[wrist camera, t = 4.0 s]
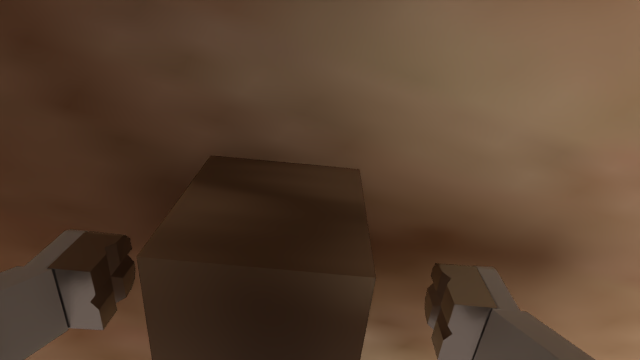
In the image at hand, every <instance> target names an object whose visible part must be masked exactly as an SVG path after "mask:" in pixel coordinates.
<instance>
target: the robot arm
mask: <svg viewBox="0 0 640 360" xmlns="http://www.w3.org/2000/svg"><path fill="white" fill-rule="evenodd" d="M131 249H132V246H131V241H130V238H129V237H128V236H126V235H121V234H112V233H103V232H94V231H84V230H73V229H70V230H66V231H64V232H63V233H62V234H61V235H59V236H58V237H57V238H56V239H55V240H54V241H53V242H51V243H50V244H49V245H48V246H47V247H46V248H45V249H43V250H42V251H41V252H40V253H39V254H38V255H37V256H35V257H34V258H33V259H32V260H31V261H30V262H29V263H27V264H26V265H25V266H24V267H20V266H17V267H14V268H12V269H9V270H6V271H4V272H1V273H0V360H24V359H26V358H27V357H29V356H30V355H32V354H33V353H35V352H36V351H38V350H39V349H41V348H42V347H44V346H45V345H47V344H48V343H50V342H51V341H53V340H54V339H56V338H57V337H59V336H60V335H61V334H63V333H64V332H66V331H67V330H68V328H77V329H93V330H104V328H105V327H106V326H107V324H108V323H109V321H110V320H111V318H112V317H113V315H114V314H115V313H116V311H117V306H116V303H117V302H119V301H120V300H122V299H124V298H126V297H127V295H128V293H129V292H130V290H131V289H132V286H133V283H134V279H135V263H134V261H133V260H132V259H131V258H130V257H129V256H128V253H129V252H130V251H131ZM431 277H432V280H433V284H432V285H431V286H429V287H428V288H427V292H426V296H425V316H426V320H427V324H428V325H429V326H430V327H431V328H432V329H433V334H432V337H431V338H432V342H433V345H434V349H435V352H436V356H437V359H438V360H595V359H594V358H592V357H591V356H589V355H588V354H586V353H585V352H584V351H582V350H581V349H579V348H578V347H576V346H575V345H574V344H572V343H571V342H569V341H568V340H566V339H565V338H564V337H562V336H561V335H559V334H558V333H556V332H555V331H553V330H552V329H551V328H549V327H548V326H546V325H545V324H543V323H542V322H541V321H539V320H538V319H536V318H535V317H533V316H532V315H531V314H529V313H528V312H525V311H520V309H519V308H518V306H517V304H516V303H515V301H514V299H513V297H512V296H511V294H510V292H509V291H508V289H507V287H506V286H505V284H504V282H503V280H502V279H501V277H500V275H499V274H498V272H497V270H496V269H495V268H493V267H488V266H465V265H453V264H441V263H435V265H434V267H433V269H432V273H431Z"/></svg>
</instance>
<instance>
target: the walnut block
mask: <svg viewBox="0 0 640 360" xmlns="http://www.w3.org/2000/svg"><path fill="white" fill-rule="evenodd" d="M137 263H138V269H139V276H140V283H141V289H142V296H143V303H144V309H145V316H146V323H147V329H148V336H149V343H150V349H151V356H152V360H360V358H361V352H362V347H363V342H364V337H365V332H366V327H367V321H368V316H369V311H370V306H371V301H372V295H373V290H374V285H375V280H376V275H375V269H374V262H373V256H372V249H371V243H370V236H369V229H368V223H367V216H366V210H365V203H364V197H363V190H362V183H361V177H360V170H359V169H351V168H340V167H329V166H318V165H307V164H297V163H286V162H275V161H264V160H253V159H242V158H231V157H221V156H210V158H209V159H208V160H207V162H206V163H205V164H204V166H203V167H202V169H201V170H200V171H199V173H198V174H197V175H196V177H195V178H194V179H193V181H192V182H191V184H190V185H189V186H188V188H187V189H186V190H185V192H184V193H183V194H182V196H181V197H180V198H179V200H178V201H177V203H176V204H175V205H174V207H173V208H172V209H171V211H170V212H169V213H168V215H167V216H166V218H165V219H164V220H163V222H162V223H161V224H160V226H159V227H158V228H157V230H156V231H155V232H154V234H153V235H152V237H151V238H150V239H149V241H148V242H147V243H146V245H145V246H144V247H143V249H142V250H141V252H140V253H139V254H138V256H137Z"/></svg>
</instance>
